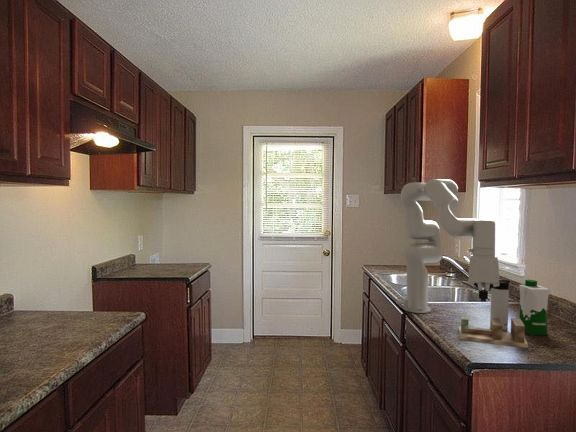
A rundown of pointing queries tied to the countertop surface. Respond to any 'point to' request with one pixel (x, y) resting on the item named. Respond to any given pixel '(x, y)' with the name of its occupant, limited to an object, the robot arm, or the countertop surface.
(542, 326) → the milk carton
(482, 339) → the base
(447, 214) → the robot arm
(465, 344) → the countertop surface
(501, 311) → the travel mug
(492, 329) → the sliding jaw
